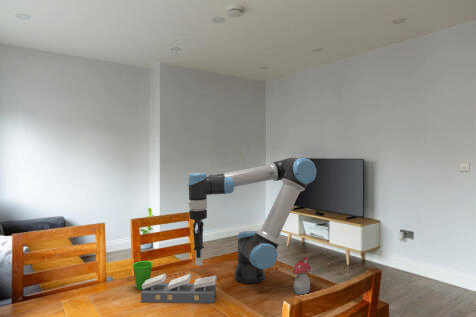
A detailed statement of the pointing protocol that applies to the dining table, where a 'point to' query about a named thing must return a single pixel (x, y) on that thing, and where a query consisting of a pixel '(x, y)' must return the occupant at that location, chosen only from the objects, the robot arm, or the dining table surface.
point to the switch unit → (178, 294)
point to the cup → (142, 272)
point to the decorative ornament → (301, 277)
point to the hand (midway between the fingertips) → (199, 264)
